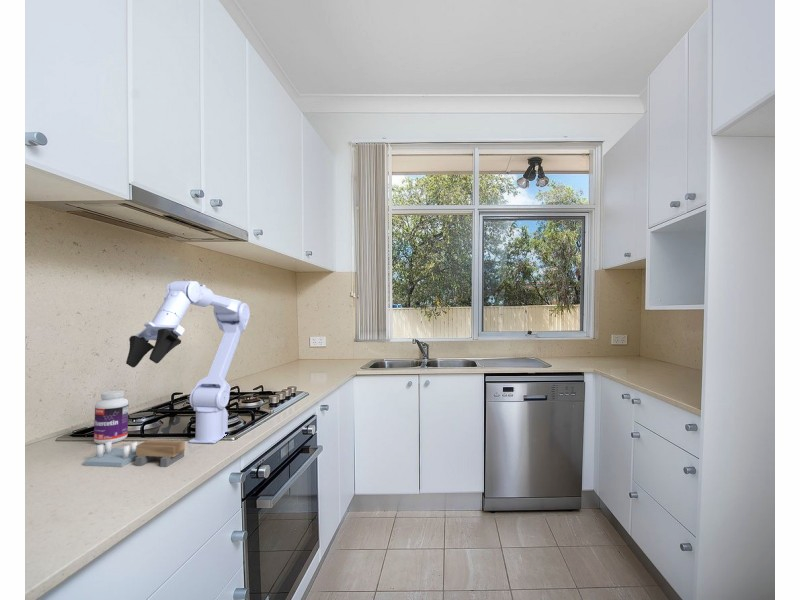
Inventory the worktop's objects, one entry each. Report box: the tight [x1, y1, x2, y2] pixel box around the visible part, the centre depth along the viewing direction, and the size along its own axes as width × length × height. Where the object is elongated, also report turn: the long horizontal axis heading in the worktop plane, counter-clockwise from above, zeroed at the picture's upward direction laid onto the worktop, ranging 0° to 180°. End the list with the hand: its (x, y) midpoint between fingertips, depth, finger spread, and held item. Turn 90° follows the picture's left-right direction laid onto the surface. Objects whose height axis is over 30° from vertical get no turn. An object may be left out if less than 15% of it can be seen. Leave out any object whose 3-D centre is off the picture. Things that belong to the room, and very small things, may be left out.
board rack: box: [135, 451, 185, 468], centre depth 100 cm, size 7×8×2 cm
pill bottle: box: [93, 389, 129, 445], centre depth 114 cm, size 8×8×14 cm
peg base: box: [83, 441, 138, 468], centre depth 100 cm, size 9×10×4 cm
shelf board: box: [136, 439, 186, 458], centre depth 100 cm, size 4×10×2 cm, turn 86°
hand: (141, 363), depth 90 cm, fingers open, 7 cm apart
